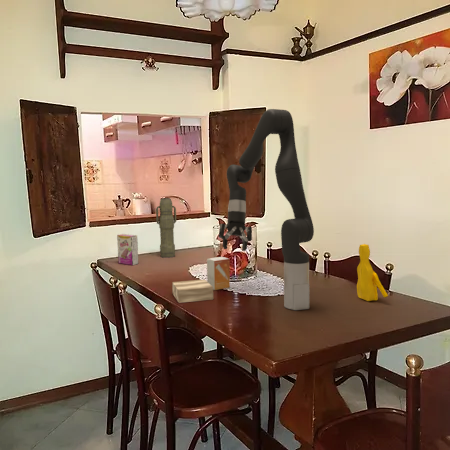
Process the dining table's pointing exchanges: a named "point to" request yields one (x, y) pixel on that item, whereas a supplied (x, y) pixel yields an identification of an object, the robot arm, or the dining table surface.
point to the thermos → (166, 227)
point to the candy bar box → (127, 249)
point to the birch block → (192, 290)
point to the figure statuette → (367, 277)
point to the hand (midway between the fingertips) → (234, 249)
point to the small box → (218, 272)
